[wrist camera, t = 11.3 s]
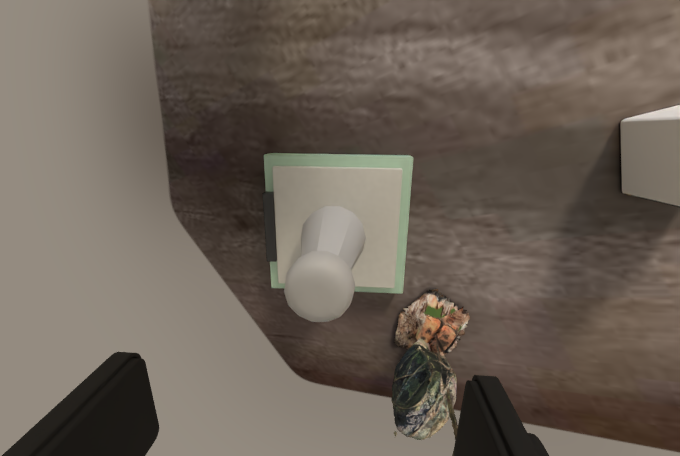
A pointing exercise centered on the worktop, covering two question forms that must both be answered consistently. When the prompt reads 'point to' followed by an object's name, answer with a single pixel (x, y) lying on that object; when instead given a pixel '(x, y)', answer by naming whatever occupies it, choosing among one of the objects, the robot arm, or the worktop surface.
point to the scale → (345, 191)
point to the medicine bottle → (652, 156)
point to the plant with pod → (426, 365)
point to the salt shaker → (325, 265)
